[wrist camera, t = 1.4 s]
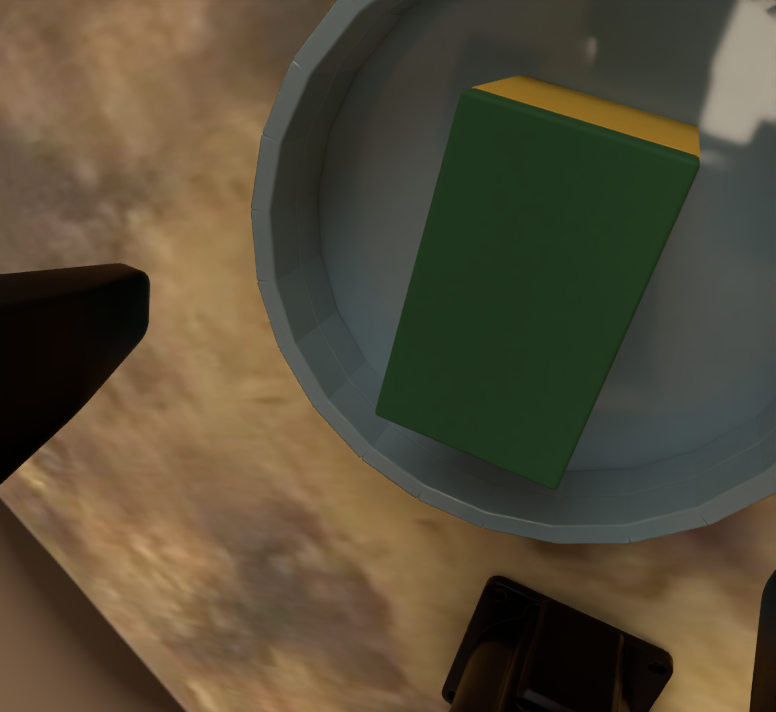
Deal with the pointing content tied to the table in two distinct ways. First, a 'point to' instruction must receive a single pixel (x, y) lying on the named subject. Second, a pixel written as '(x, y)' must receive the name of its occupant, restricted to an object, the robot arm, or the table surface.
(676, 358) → the bowl
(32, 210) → the table surface
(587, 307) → the sponge
